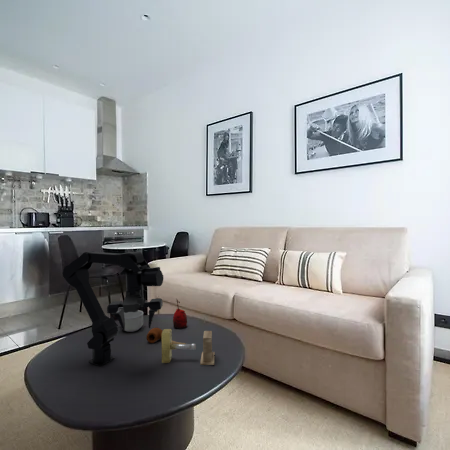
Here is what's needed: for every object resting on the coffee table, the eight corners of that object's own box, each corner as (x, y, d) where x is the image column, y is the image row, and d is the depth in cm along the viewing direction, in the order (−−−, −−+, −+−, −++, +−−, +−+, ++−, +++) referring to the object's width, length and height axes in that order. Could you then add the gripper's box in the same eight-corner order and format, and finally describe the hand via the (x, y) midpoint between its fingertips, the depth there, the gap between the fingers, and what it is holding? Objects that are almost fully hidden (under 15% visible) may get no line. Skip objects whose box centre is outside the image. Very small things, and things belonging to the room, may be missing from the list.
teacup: (148, 328, 137) (148, 312, 138) (130, 335, 128) (130, 318, 128) (129, 323, 145) (129, 307, 145) (111, 329, 136) (111, 313, 136)
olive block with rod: (161, 362, 103) (161, 333, 103) (163, 357, 107) (163, 329, 107) (195, 362, 103) (195, 332, 103) (196, 357, 107) (196, 328, 107)
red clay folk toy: (190, 326, 139) (190, 296, 139) (179, 330, 134) (179, 299, 134) (180, 323, 144) (180, 294, 144) (169, 327, 139) (169, 297, 139)
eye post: (200, 365, 100) (200, 339, 101) (201, 354, 109) (201, 329, 110) (214, 365, 101) (213, 339, 101) (214, 354, 110) (214, 329, 110)
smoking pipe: (153, 337, 127) (153, 324, 127) (190, 342, 122) (190, 328, 122) (144, 343, 120) (144, 330, 120) (183, 349, 115) (183, 335, 115)
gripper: (100, 293, 93) (102, 340, 92) (156, 289, 94) (159, 335, 94) (111, 286, 104) (113, 328, 104) (161, 283, 105) (163, 324, 105)
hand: (136, 329), depth 101 cm, fingers open, 9 cm apart
